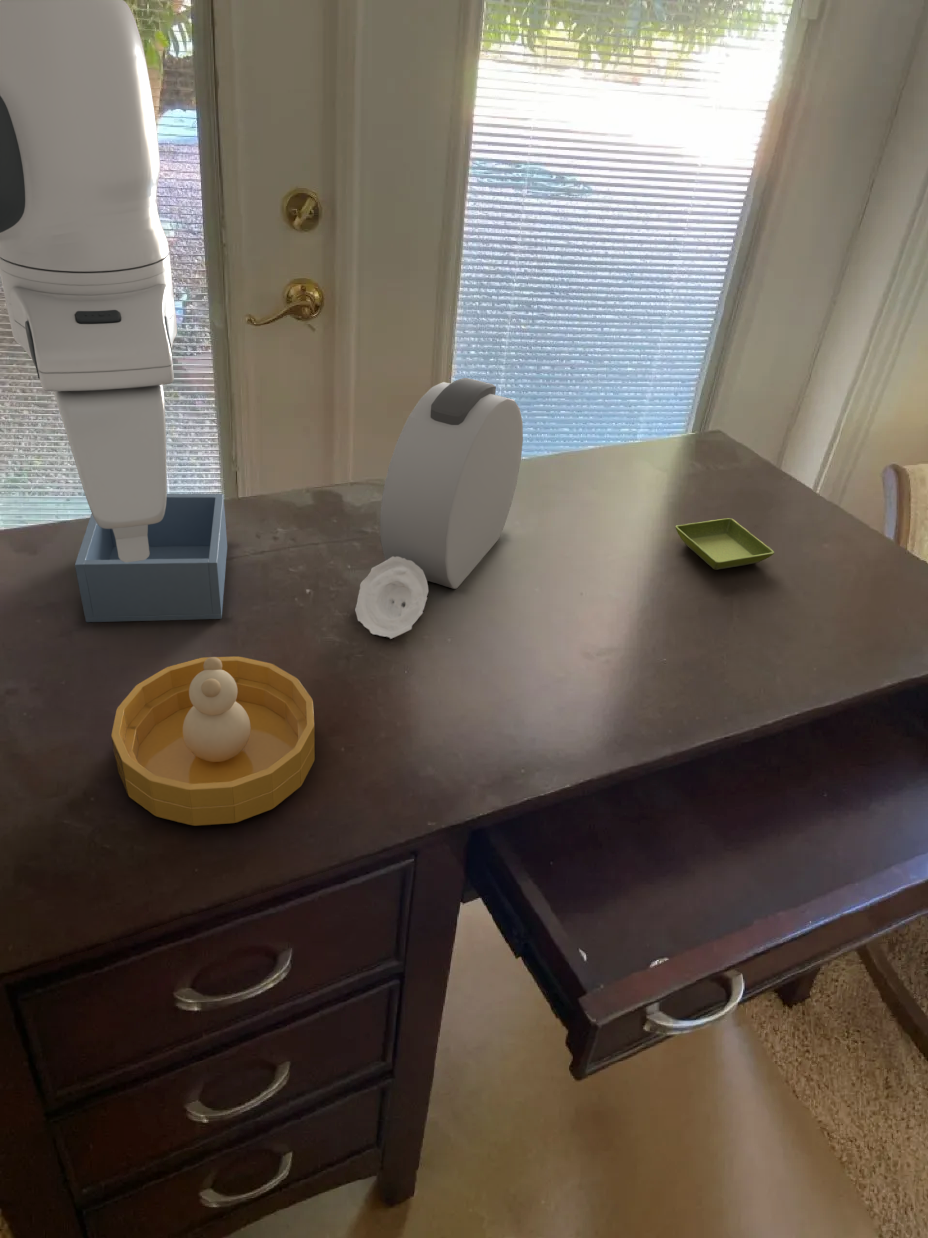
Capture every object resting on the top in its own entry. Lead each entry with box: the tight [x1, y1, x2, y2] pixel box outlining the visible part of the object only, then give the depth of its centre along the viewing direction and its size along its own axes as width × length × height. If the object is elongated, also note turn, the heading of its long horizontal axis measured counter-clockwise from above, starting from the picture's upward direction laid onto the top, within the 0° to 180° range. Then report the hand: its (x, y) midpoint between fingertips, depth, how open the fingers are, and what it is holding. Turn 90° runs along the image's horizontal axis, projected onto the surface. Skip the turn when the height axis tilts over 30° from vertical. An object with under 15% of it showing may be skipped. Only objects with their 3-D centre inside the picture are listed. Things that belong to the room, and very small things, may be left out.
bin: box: [74, 493, 228, 623], centre depth 90 cm, size 13×14×7 cm
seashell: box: [354, 557, 429, 640], centre depth 89 cm, size 8×5×8 cm
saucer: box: [674, 517, 775, 571], centre depth 106 cm, size 9×9×2 cm
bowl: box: [110, 656, 316, 827], centre depth 71 cm, size 15×15×4 cm
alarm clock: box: [379, 377, 524, 590], centre depth 96 cm, size 21×8×20 cm, turn 156°
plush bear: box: [183, 656, 251, 762], centre depth 70 cm, size 5×5×9 cm
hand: (126, 518), depth 58 cm, fingers open, 8 cm apart
